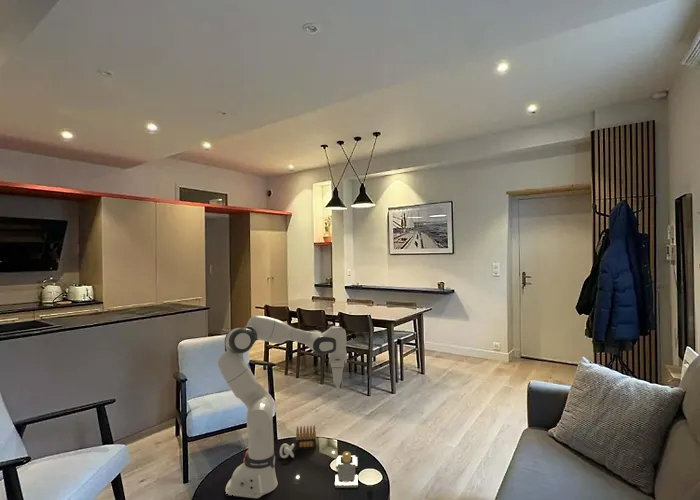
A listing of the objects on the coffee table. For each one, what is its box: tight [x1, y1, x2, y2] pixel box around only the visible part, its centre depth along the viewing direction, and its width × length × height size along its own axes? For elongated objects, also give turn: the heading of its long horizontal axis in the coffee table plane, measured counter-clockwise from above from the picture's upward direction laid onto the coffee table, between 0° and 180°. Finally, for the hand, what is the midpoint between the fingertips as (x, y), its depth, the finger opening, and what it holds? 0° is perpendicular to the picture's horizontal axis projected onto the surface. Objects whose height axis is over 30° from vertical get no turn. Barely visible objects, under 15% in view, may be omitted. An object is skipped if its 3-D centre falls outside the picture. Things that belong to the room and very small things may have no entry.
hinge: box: [334, 455, 359, 489], centre depth 187 cm, size 10×24×6 cm, turn 0°
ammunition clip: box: [295, 425, 317, 450], centre depth 211 cm, size 11×2×12 cm, turn 96°
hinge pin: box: [341, 451, 352, 463], centre depth 187 cm, size 4×4×9 cm
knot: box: [279, 443, 296, 459], centre depth 203 cm, size 8×8×6 cm
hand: (338, 386), depth 197 cm, fingers open, 8 cm apart
